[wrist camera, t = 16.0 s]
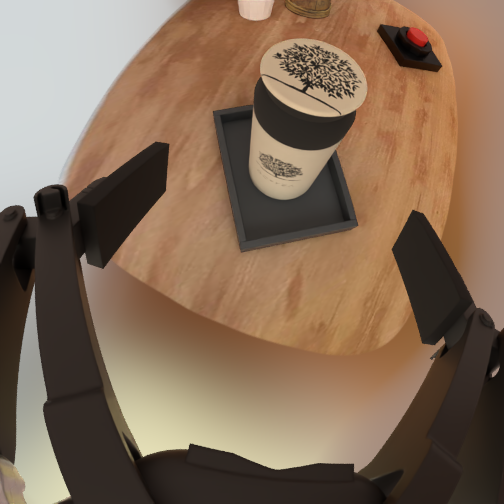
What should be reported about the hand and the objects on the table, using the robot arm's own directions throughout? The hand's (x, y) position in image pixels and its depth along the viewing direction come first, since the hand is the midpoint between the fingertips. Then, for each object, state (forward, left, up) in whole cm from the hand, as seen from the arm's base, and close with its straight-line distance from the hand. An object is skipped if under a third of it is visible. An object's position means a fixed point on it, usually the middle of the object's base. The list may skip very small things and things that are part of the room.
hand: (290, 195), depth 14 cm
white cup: (+42, -8, -19) cm, 47 cm away
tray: (+9, -4, -19) cm, 22 cm away
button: (+32, -36, -16) cm, 51 cm away
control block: (+32, -36, -19) cm, 52 cm away
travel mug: (+9, -4, -19) cm, 21 cm away
